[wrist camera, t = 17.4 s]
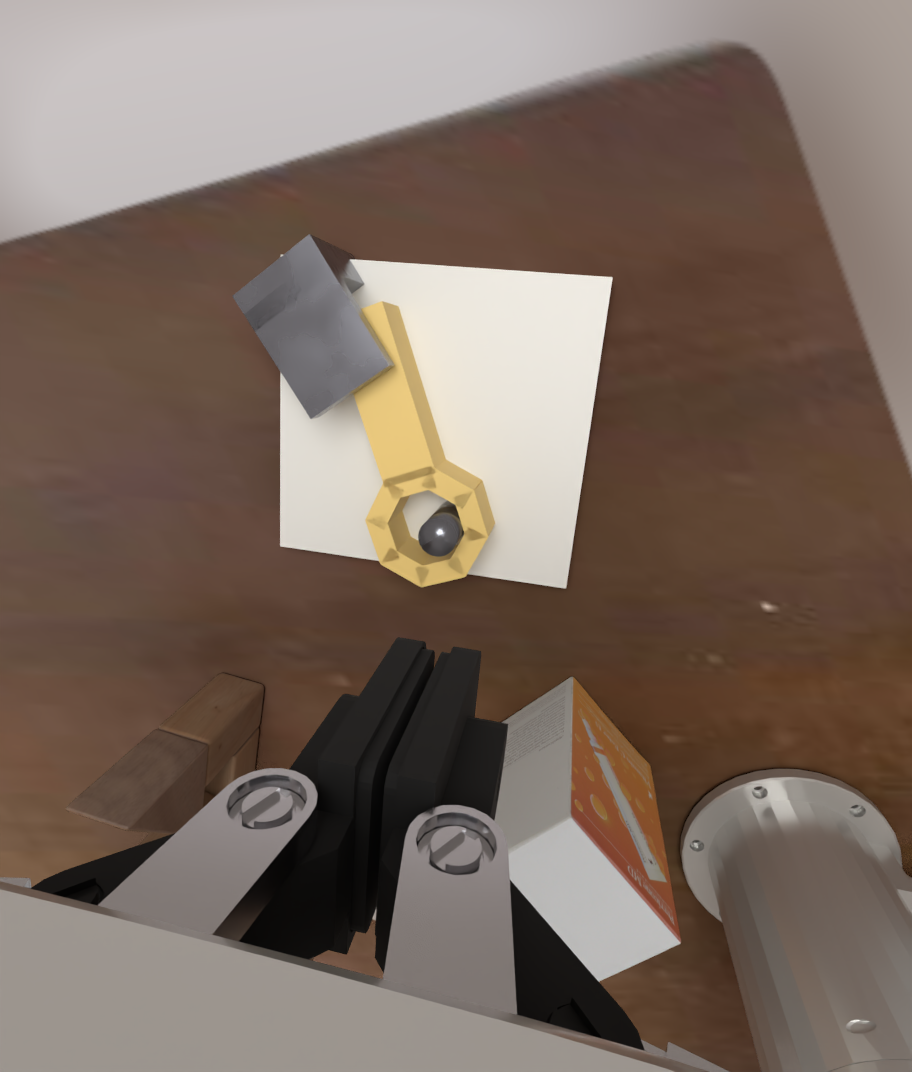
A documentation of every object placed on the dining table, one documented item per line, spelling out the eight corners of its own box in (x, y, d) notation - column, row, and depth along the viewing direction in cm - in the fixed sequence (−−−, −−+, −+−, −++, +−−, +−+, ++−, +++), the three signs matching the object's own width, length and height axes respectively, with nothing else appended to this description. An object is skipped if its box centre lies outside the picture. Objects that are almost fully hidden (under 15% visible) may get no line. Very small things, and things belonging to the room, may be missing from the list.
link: (504, 552, 36) (497, 569, 33) (404, 576, 38) (390, 594, 35) (427, 295, 33) (413, 289, 30) (322, 333, 34) (299, 331, 32)
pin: (476, 497, 37) (457, 522, 31) (473, 529, 37) (454, 559, 31) (443, 492, 37) (419, 516, 31) (441, 524, 37) (416, 553, 32)
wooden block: (267, 683, 43) (66, 892, 26) (253, 804, 46) (67, 1060, 29) (219, 669, 44) (-9, 866, 27) (209, 790, 47) (0, 1034, 30)
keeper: (285, 305, 36) (232, 296, 30) (352, 254, 34) (309, 234, 29) (350, 410, 37) (310, 419, 31) (418, 364, 35) (389, 365, 30)
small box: (652, 763, 39) (686, 947, 27) (573, 808, 41) (572, 998, 29) (573, 671, 38) (571, 816, 26) (496, 721, 41) (461, 878, 28)
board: (611, 280, 32) (612, 277, 31) (566, 581, 37) (566, 588, 36) (290, 258, 35) (280, 254, 34) (288, 540, 40) (280, 546, 39)
